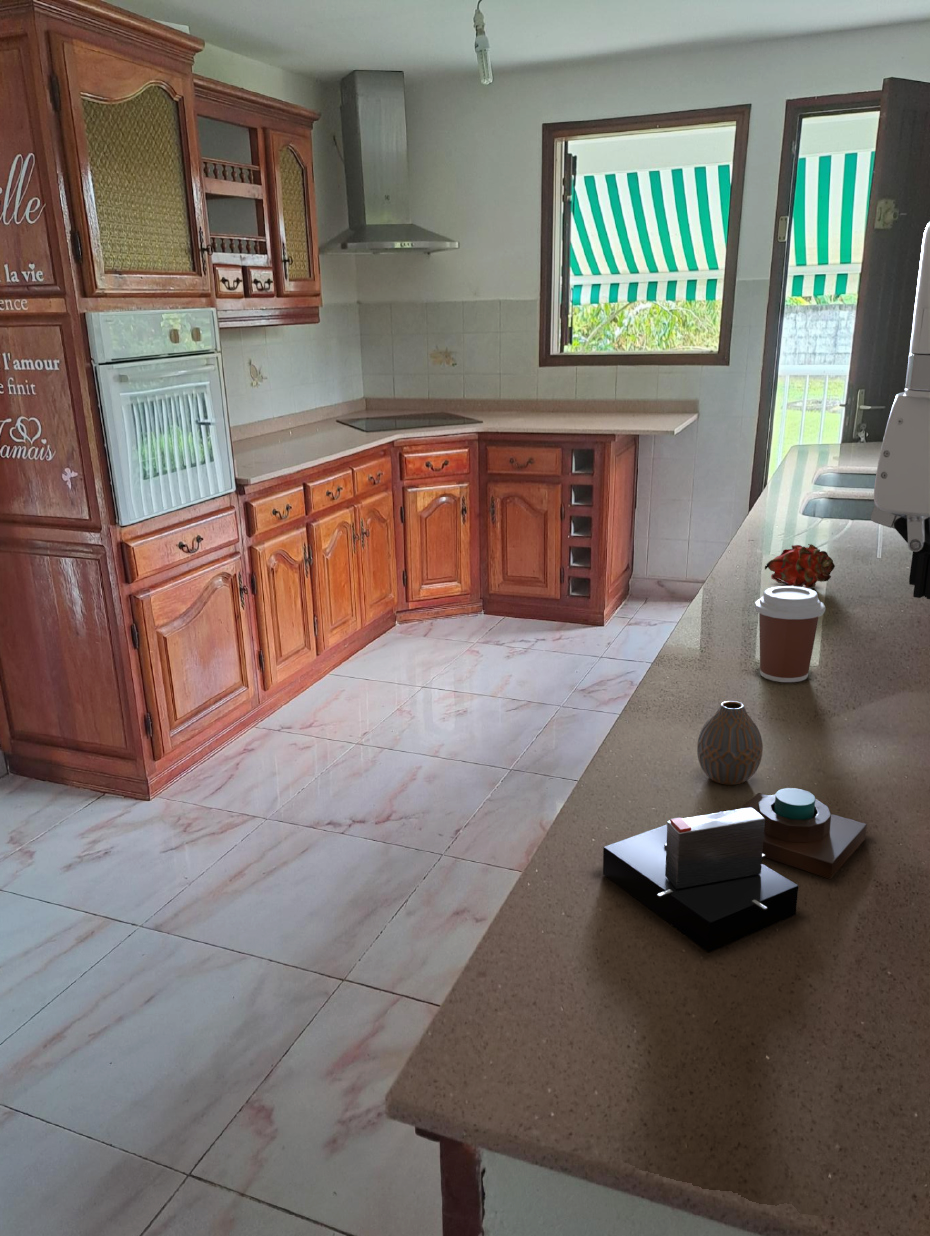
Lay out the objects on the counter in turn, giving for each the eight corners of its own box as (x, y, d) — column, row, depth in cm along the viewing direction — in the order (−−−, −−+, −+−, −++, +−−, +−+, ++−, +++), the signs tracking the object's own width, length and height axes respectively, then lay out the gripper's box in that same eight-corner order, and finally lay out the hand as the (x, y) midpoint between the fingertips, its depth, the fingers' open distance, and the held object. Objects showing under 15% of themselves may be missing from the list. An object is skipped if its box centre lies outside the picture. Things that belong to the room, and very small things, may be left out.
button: (819, 810, 93) (821, 794, 92) (804, 825, 91) (806, 809, 90) (783, 800, 95) (784, 784, 95) (768, 814, 93) (769, 798, 92)
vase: (721, 758, 112) (726, 688, 109) (773, 778, 107) (779, 705, 103) (682, 776, 108) (686, 704, 105) (734, 797, 103) (739, 722, 100)
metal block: (747, 861, 86) (751, 804, 84) (761, 874, 84) (765, 816, 82) (664, 876, 84) (667, 818, 82) (676, 889, 82) (679, 830, 80)
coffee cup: (786, 659, 141) (792, 580, 137) (832, 678, 133) (841, 595, 129) (736, 670, 138) (741, 589, 134) (780, 690, 130) (788, 605, 126)
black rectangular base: (815, 917, 82) (818, 886, 81) (707, 965, 77) (709, 932, 76) (692, 841, 95) (694, 813, 94) (593, 877, 90) (593, 848, 89)
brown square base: (865, 839, 94) (869, 807, 92) (830, 879, 88) (834, 846, 86) (757, 806, 101) (759, 777, 100) (717, 842, 95) (719, 810, 93)
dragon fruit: (837, 598, 173) (767, 603, 178) (837, 562, 177) (769, 568, 183) (833, 568, 167) (761, 574, 172) (833, 531, 171) (763, 538, 177)
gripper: (1076, 371, 75) (1036, 597, 81) (877, 372, 85) (855, 574, 91) (1055, 380, 70) (1014, 620, 76) (846, 379, 79) (825, 592, 86)
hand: (928, 594), depth 84 cm, fingers closed
